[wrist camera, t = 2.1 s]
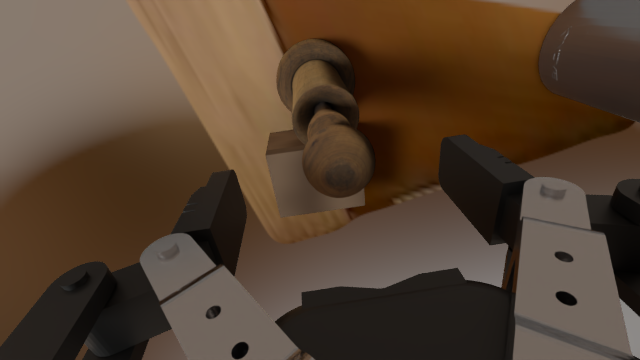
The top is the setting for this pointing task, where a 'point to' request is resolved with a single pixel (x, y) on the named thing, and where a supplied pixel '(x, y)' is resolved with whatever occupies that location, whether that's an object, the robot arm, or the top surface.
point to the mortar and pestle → (326, 117)
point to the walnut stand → (298, 179)
